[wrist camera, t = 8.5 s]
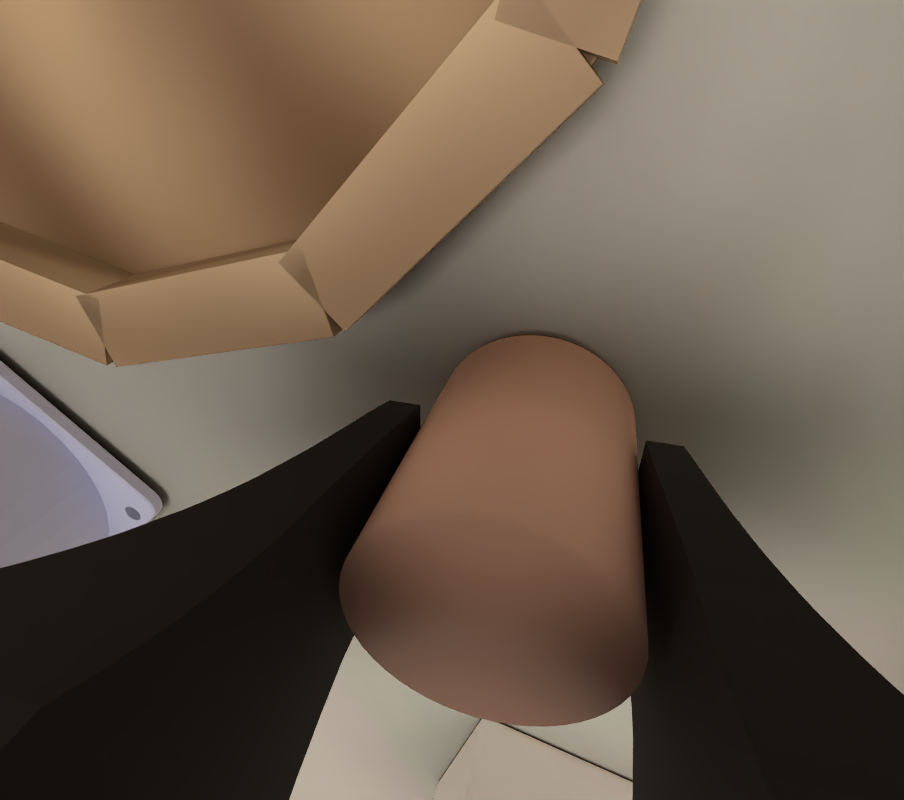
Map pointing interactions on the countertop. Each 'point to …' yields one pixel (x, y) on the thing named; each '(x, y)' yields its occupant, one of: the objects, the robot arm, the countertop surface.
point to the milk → (523, 771)
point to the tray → (261, 155)
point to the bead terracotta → (511, 543)
